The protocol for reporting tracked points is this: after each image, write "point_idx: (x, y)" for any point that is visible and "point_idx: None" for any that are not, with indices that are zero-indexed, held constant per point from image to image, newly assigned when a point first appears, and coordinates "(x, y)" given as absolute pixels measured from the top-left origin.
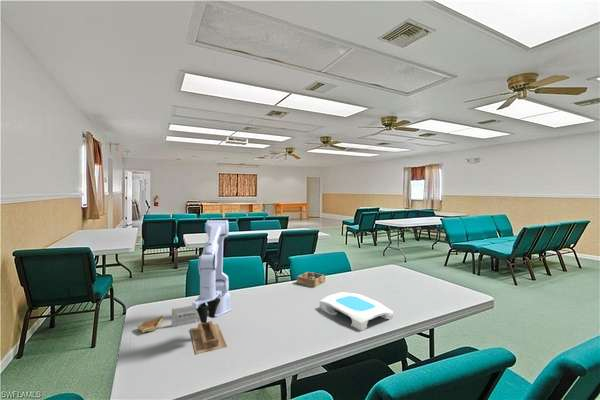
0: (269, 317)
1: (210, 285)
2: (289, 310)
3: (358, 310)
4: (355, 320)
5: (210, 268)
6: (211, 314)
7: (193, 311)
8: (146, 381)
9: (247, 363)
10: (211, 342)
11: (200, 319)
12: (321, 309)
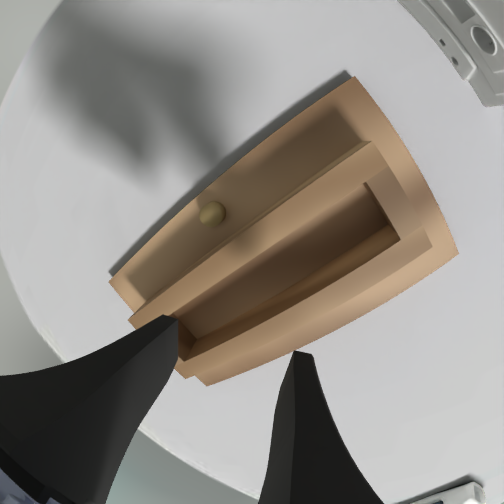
0: (474, 424)
1: None
2: (497, 441)
3: None
4: None
5: None
6: (282, 400)
7: (497, 35)
8: (3, 200)
9: (164, 428)
10: None
11: (142, 328)
12: (457, 488)
